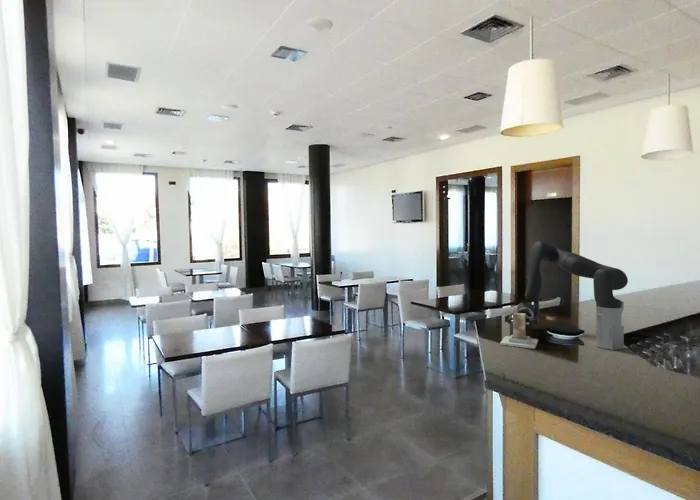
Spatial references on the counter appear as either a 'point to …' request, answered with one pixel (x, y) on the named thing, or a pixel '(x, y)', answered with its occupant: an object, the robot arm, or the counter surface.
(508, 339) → the base plate
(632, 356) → the counter surface
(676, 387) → the counter surface
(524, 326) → the beige square block
